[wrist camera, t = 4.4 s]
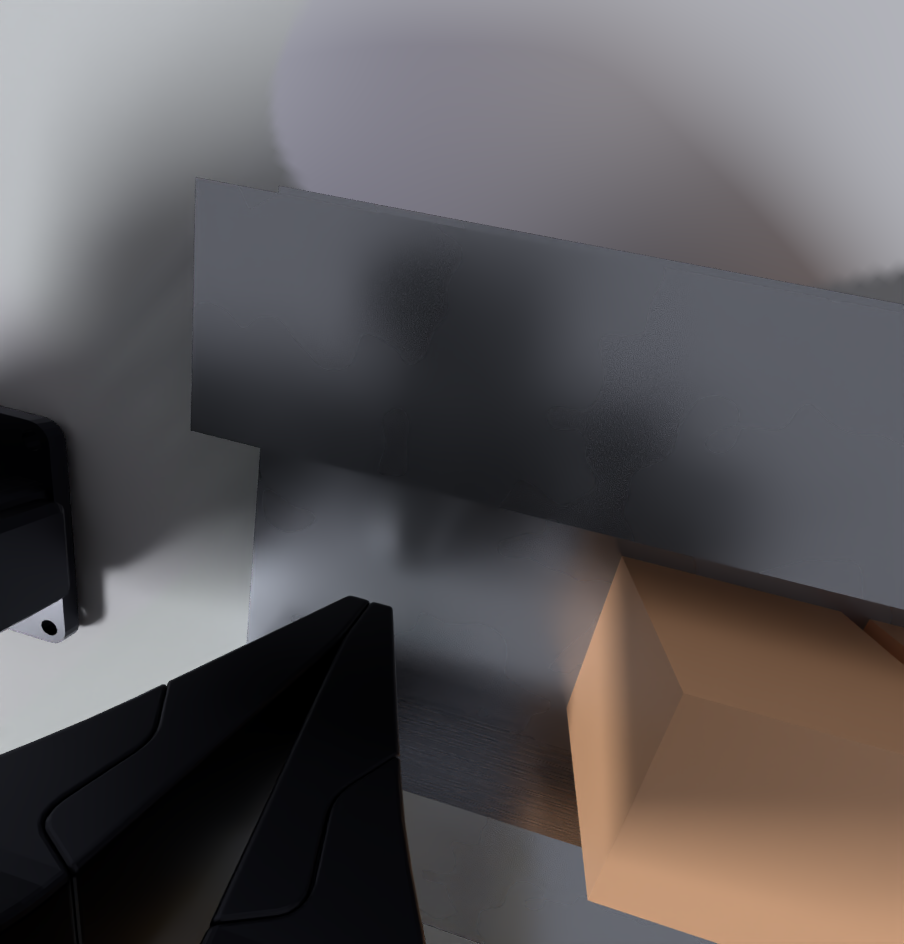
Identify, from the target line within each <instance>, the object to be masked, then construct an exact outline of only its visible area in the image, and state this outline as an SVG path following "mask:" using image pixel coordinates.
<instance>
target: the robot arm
mask: <svg viewBox="0 0 904 944" xmlns="http://www.w3.org/2000/svg"><path fill="white" fill-rule="evenodd" d="M78 626H79V619H78V605H77V591H76V577H75V563H74V549H73V535H72V521H71V507H70V493H69V479H68V465H67V451H66V440H65V436H64V433H63V432H62V430H61V428H60V427H59V426H58V425H57V424H56V423H55V422H54V421H52V420H50V419H48V418H45V417H42V416H38V415H34V414H30V413H26V412H22V411H18V410H14V409H10V408H6V407H3V406H0V633H1V632H3V631H5V630H6V629H10V630H13V631H16V632H19V633H22V634H26V635H29V636H32V637H35V638H38V639H42V640H45V641H48V642H52V643H58V642H61V641H63V640H64V639H66V638H68V637H69V636H71V635H72V634H74V633H75V632H76V631H77V630H78ZM0 944H426V942H425V936H424V931H423V926H422V920H421V915H420V909H419V904H418V898H417V893H416V888H415V882H414V877H413V871H412V865H411V858H410V851H409V845H408V838H407V831H406V825H405V814H404V803H403V791H402V776H401V760H400V741H399V721H398V701H397V681H396V661H395V641H394V621H393V609H392V607H391V606H388V605H384V604H380V603H377V602H372V603H370V602H369V601H368V600H366V599H362V598H359V597H355V596H351V595H349V596H346V597H344V598H342V599H340V600H338V601H336V602H333V603H331V604H329V605H327V606H325V607H323V608H321V609H319V610H317V611H315V612H313V613H311V614H308V615H306V616H304V617H302V618H300V619H298V620H296V621H294V622H292V623H290V624H288V625H286V626H283V627H281V628H279V629H277V630H275V631H273V632H271V633H269V634H267V635H265V636H263V637H260V638H258V639H256V640H254V641H252V642H250V643H248V644H246V645H244V646H242V647H240V648H238V649H235V650H233V651H231V652H229V653H227V654H225V655H223V656H221V657H219V658H217V659H215V660H212V661H210V662H208V663H206V664H204V665H202V666H200V667H198V668H196V669H194V670H192V671H190V672H187V673H185V674H183V675H181V676H179V677H177V678H175V679H173V680H171V681H169V682H168V684H167V686H166V685H165V684H162V685H160V686H158V687H156V688H154V689H152V690H149V691H147V692H145V693H143V694H141V695H139V696H137V697H135V698H133V699H130V700H128V701H126V702H124V703H122V704H120V705H117V706H115V707H113V708H111V709H109V710H106V711H104V712H102V713H100V714H98V715H95V716H93V717H91V718H89V719H86V720H84V721H82V722H79V723H77V724H74V725H72V726H70V727H67V728H65V729H62V730H60V731H58V732H55V733H53V734H50V735H48V736H46V737H43V738H41V739H38V740H36V741H34V742H31V743H29V744H26V745H24V746H21V747H19V748H16V749H14V750H11V751H9V752H6V753H4V754H1V755H0Z"/></svg>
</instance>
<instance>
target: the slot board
mask: <svg viewBox="0 0 904 944" xmlns="http://www.w3.org/2000/svg"><path fill="white" fill-rule="evenodd" d="M191 431H195V432H199V433H203V434H207V435H211V436H215V437H219V438H223V439H227V440H231V441H235V442H239V443H243V444H247V445H251V446H255V447H259V448H260V461H259V476H258V490H257V504H256V518H255V532H254V547H253V561H252V575H251V589H250V603H249V618H248V632H247V644H248V643H250V642H252V641H254V640H256V639H258V638H260V637H263V636H265V635H267V634H269V633H271V632H273V631H275V630H277V629H279V628H281V627H283V626H286V625H288V624H290V623H292V622H294V621H296V620H298V619H300V618H302V617H304V616H306V615H308V614H311V613H313V612H315V611H317V610H319V609H321V608H323V607H325V606H327V605H329V604H331V603H333V602H336V601H338V600H340V599H342V598H344V597H346V596H349V595H351V596H355V597H359V598H362V599H366V600H368V601H369V602H370V603H372V602H377V603H380V604H384V605H388V606H391V607H392V609H393V621H394V641H395V661H396V681H397V701H398V721H399V741H400V760H401V776H402V791H403V803H404V814H405V825H406V831H407V838H408V845H409V851H410V858H411V865H412V871H413V877H414V882H415V888H416V893H417V898H418V904H419V909H420V915H421V920H422V923H423V924H426V925H429V926H432V927H435V928H438V929H441V930H443V931H446V932H449V933H452V934H455V935H458V936H461V937H464V938H466V939H469V940H472V941H475V942H478V943H481V944H718V943H715V942H712V941H709V940H706V939H703V938H700V937H697V936H694V935H691V934H688V933H685V932H682V931H679V930H676V929H673V928H670V927H667V926H664V925H661V924H658V923H655V922H652V921H649V920H645V919H642V918H639V917H636V916H633V915H630V914H627V913H624V912H621V911H618V910H615V909H612V908H609V907H606V906H603V905H600V904H597V903H594V902H591V901H588V899H587V890H586V881H585V872H584V863H583V853H582V844H581V835H580V826H579V817H578V808H577V799H576V790H575V781H574V772H573V763H572V753H571V744H570V735H569V726H568V717H567V705H568V702H569V700H570V697H571V694H572V691H573V689H574V686H575V683H576V680H577V678H578V675H579V672H580V669H581V667H582V664H583V661H584V658H585V656H586V653H587V650H588V647H589V645H590V642H591V639H592V636H593V634H594V631H595V628H596V625H597V623H598V620H599V617H600V614H601V612H602V609H603V606H604V603H605V601H606V598H607V595H608V592H609V590H610V587H611V584H612V581H613V579H614V576H615V573H616V570H617V568H618V565H619V562H620V559H621V557H622V556H625V557H629V558H633V559H637V560H641V561H645V562H648V563H652V564H656V565H660V566H664V567H668V568H672V569H676V570H680V571H684V572H688V573H692V574H696V575H699V576H703V577H707V578H711V579H715V580H719V581H723V582H727V583H731V584H735V585H739V586H743V587H746V588H750V589H754V590H758V591H762V592H766V593H770V594H774V595H778V596H782V597H786V598H790V599H794V600H797V601H801V602H805V603H809V604H813V605H817V606H821V607H825V608H829V609H833V610H837V611H841V612H842V613H843V614H844V615H846V616H847V617H848V618H849V619H850V620H851V621H853V622H854V623H855V624H856V625H857V626H858V627H860V628H861V629H862V630H864V628H865V626H866V625H867V623H868V621H869V619H872V620H876V621H880V622H884V623H888V624H892V625H896V626H899V627H903V628H904V305H903V304H898V303H893V302H887V301H882V300H877V299H872V298H866V297H861V296H856V295H851V294H845V293H840V292H835V291H830V290H824V289H819V288H814V287H809V286H803V285H798V284H793V283H788V282H782V281H777V280H772V279H766V278H761V277H756V276H751V275H746V274H740V273H735V272H730V271H724V270H719V269H714V268H709V267H703V266H698V265H693V264H688V263H682V262H677V261H672V260H667V259H661V258H656V257H651V256H645V255H640V254H635V253H630V252H625V251H619V250H614V249H609V248H603V247H598V246H593V245H587V244H583V243H577V242H572V241H566V240H562V239H556V238H551V237H546V236H540V235H535V234H530V233H524V232H519V231H514V230H509V229H504V228H498V227H493V226H488V225H482V224H477V223H472V222H467V221H462V220H456V219H450V218H445V217H441V216H435V215H430V214H425V213H419V212H414V211H409V210H404V209H398V208H393V207H388V206H383V205H377V204H372V203H367V202H362V201H356V200H351V199H346V198H341V197H335V196H330V195H324V194H320V193H314V192H309V191H304V190H299V189H293V188H288V187H283V186H279V191H278V193H276V192H270V191H265V190H260V189H255V188H250V187H244V186H239V185H234V184H229V183H223V182H218V181H213V180H208V179H203V178H197V177H196V184H195V236H194V288H193V340H192V392H191Z"/></svg>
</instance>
